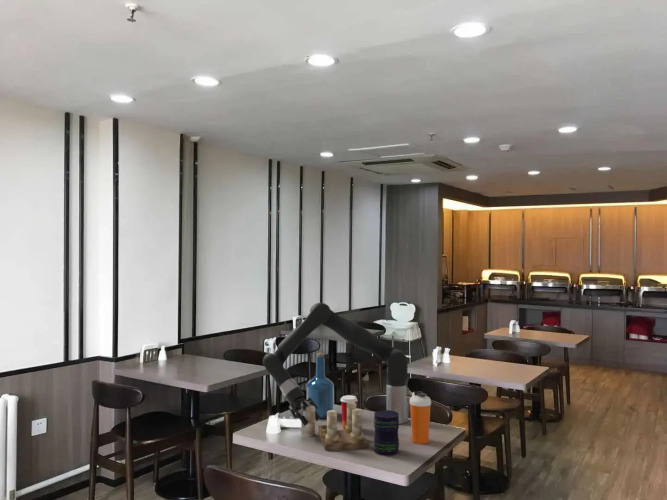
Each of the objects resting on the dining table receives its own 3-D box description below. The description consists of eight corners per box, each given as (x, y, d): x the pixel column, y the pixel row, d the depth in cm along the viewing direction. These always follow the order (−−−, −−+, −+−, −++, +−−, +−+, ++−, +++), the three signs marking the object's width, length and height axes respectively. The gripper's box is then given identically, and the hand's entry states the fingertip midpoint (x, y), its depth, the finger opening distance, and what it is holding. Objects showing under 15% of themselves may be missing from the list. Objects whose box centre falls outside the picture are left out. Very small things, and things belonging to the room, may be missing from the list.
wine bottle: (333, 411, 275) (333, 350, 275) (334, 418, 261) (334, 355, 262) (305, 411, 274) (305, 351, 274) (305, 419, 261) (305, 355, 261)
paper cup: (358, 426, 250) (358, 395, 250) (357, 431, 242) (357, 399, 242) (341, 425, 251) (341, 394, 251) (339, 431, 243) (339, 399, 243)
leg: (312, 433, 240) (312, 405, 240) (316, 435, 236) (316, 407, 237) (304, 434, 238) (304, 406, 238) (307, 437, 235) (307, 408, 235)
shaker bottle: (417, 446, 223) (417, 396, 224) (405, 439, 231) (405, 392, 232) (435, 442, 227) (435, 394, 228) (422, 436, 235) (422, 389, 236)
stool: (357, 434, 238) (357, 401, 238) (366, 447, 221) (366, 411, 222) (318, 436, 235) (318, 403, 235) (325, 450, 218) (325, 414, 218)
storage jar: (404, 453, 216) (404, 406, 216) (384, 457, 210) (384, 410, 211) (388, 445, 224) (388, 401, 224) (368, 450, 219) (368, 404, 219)
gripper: (286, 389, 236) (307, 420, 229) (306, 383, 248) (327, 412, 241) (276, 400, 239) (297, 431, 232) (297, 393, 251) (317, 423, 244)
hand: (312, 421), depth 237 cm, fingers open, 8 cm apart
